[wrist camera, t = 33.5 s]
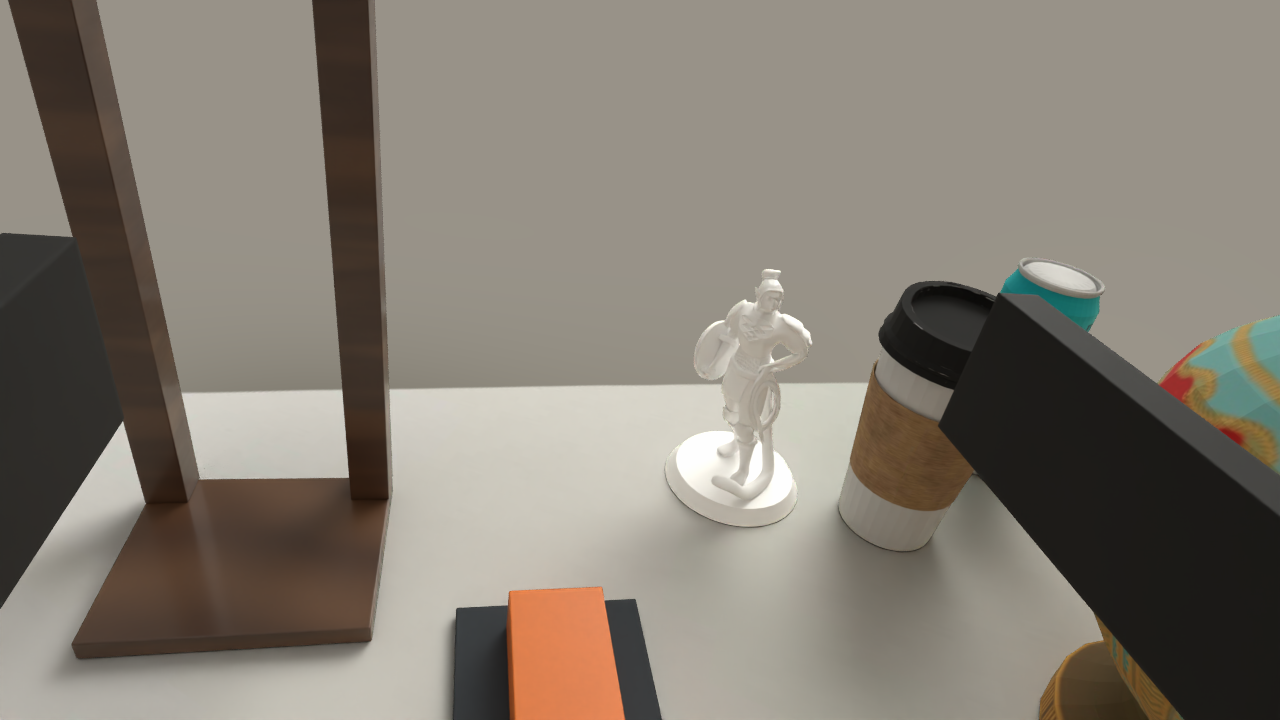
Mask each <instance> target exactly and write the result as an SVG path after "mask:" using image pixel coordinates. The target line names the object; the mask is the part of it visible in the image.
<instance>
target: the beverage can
mask: <svg viewBox="0 0 1280 720" xmlns="http://www.w3.org/2000/svg"><path fill="white" fill-rule="evenodd" d="M1104 291H1105V286H1104V284H1103V283H1102V282H1101V281H1100V280H1099V279H1097V278H1096V277H1095V276H1093V275H1091V274H1089V273H1088V272H1085V271H1083V270H1081V269H1079V268H1077V267H1074V266H1071V265H1068V264H1065V263H1062V262H1058V261H1054V260H1050V259H1044V258H1024V259H1022V260H1021V261H1020V262H1019V264H1018V269H1017V270H1016V271H1015V272H1014V273H1013V274H1012V275H1011V276H1010V277H1008V278H1007V279H1006V281H1005V283H1004V285H1003V288H1002V290H1001V292H1000V293H1012V294H1029V295H1039V296H1040V297H1041V298H1043V299H1044V300H1045V301H1047V302H1048V303H1049V304H1051V305H1052V306H1053V307H1055V308H1056V309H1057V310H1059V311H1060V312H1061V313H1063V314H1064V315H1065V316H1067V317H1068V318H1069V319H1071V320H1072V321H1073V322H1075V323H1076V324H1077V325H1079V326H1080V327H1082V328H1083V329H1084V330H1086V331H1087V332H1089V330H1090V328H1091V326H1092V325H1093V323H1094V321H1095V319H1096V317H1097V315H1098V313H1099V299H1100V295H1102V294H1103V292H1104ZM973 473H974V474H977V473H976V471H975V470H974V471H973ZM977 475H978V474H977Z"/></svg>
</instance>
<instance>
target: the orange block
mask: <svg viewBox="0 0 1280 720" xmlns="http://www.w3.org/2000/svg"><path fill="white" fill-rule="evenodd" d="M506 628H507V656H508V683H509V710H510V720H625V716H624V710H623V704H622V698H621V693H620V687H619V681H618V675H617V670H616V664H615V658H614V653H613V647H612V641H611V635H610V630H609V624H608V618H607V612H606V607H605V601H604V595H603V589H602V587H586V588H564V589H542V590H520V591H510V592H509V599H508V612H507V625H506Z"/></svg>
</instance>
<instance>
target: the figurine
mask: <svg viewBox="0 0 1280 720" xmlns="http://www.w3.org/2000/svg"><path fill="white" fill-rule="evenodd" d="M780 273H781V272H780V271H775V270H772V269H765V270H763V271H762V273H761V276H762V279H763V282H762V283H761V285H760V287H759V288H758V289H757V287H755V293H756V297H757V301H756V303H750V302H746V300H743V301H741V302H739V303H738V304H736V305H735V306H734V307H733V308H732V309H731V310H730V311H729V313H728V315H727V318H726V320H725V321H718V322H715V323H713V324H712V325H710V326H709V327H708V328H707V329H706V330H705V331H704V332H703V334H702V335H701V337H700V339H699V341H698V343H697V345H696V348H695V352H694V366H695V370H696V372H697V374H698V375H699V376H700V377H702V378H704V379H707V380H715V379H717V378H719V377H721V376H723V375H724V374H725V375H724V378H723V382H722V387H721V392H722V394H723V396H724V399H725V402H726V405H724V407H723V418H724V420H725V421H727V423H728V425H729V426H730V427H731V428H732V430H733V432H725V431H712V432H705V433H700V434H697V435H695V436H692V437H690V438H689V439H687V440H686V441H685V442H683V443H682V444H680V445H679V446H678V447H676V448H675V449H674V450H673V451H672V452H671V453H670V455H669V456H668V459H667V461H666V466H665V474H666V478H667V481H668V483H669V486H670V488H671V489H672V491H673V492H674V493H675V495H676V496H677V497H678V498H679V499H680V500H681V501H682V502H683V503H684V504H686V505H687V506H688V507H689V508H691V509H692V510H694V511H696V512H697V513H699V514H701V515H703V516H705V517H707V518H709V519H711V520H714V521H717V522H721V523H724V524H728V525H734V526H741V527H756V526H764V525H768V524H771V523H775V522H777V521H779V520H781V519H783V518H784V517H786V516H787V515H788V514H789V513H790V512H791V511H792V510H793V508H794V506H795V504H796V502H797V495H798V492H797V486H796V483H795V481H794V478H793V476H792V474H791V471H790V469H789V467H788V465H787V464H786V462H785V461H784V459H783V458H782V457H781V456H780V455H779V454H778V453H777V452H776V451H774V449H773V433H772V424H773V422H774V421H775V419H776V418H777V416H778V413H779V410H780V401H781V395H780V388H779V385H778V382H777V380H776V378H775V377H774V372H779V371H782V370H785V369H788V368H790V367H791V366H794V365H797V364H799V363H801V362H802V361H803V360H805V358H806V357H807V355H808V353H809V352H808V347H811V346H812V340H811V339H810V333H809V331H807V330H806V329H805V328H803V324H802V323H801V322H800V321H798V320H797V319H795V318H793V317H791V316H789V315H787V314H783V315H781V314H780V313H779V312H780V307H781V305H782V304H783V300H784V295H783V293H784V290H782V287H781V285H780V284H779V282H778V281H777V278H778V277H779V276H780ZM780 300H781V302H780ZM779 302H780V305H779V306H778V304H779ZM777 307H778V311H777ZM739 343H740V345H739ZM780 343H782V344H783V345H784V346H785V347H786V348H787V349H788V350H789V351H790V352H791V353H792V354H793V355H790V356H787V357H784V358H782V359H779V360H777V361H774V360H773V359H772V358H771V352H772V350H773V348H774V346H775V345H776V344H780ZM772 392H773V394H774V407H773V409H772V404H771V401H772ZM760 416H761V420H760ZM754 430H755V431H757V432H759V436H760V440H761V442H760V441H758V439H757V437H756V436H755V435H754V434H753V432H754Z"/></svg>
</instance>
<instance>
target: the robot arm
mask: <svg viewBox="0 0 1280 720" xmlns="http://www.w3.org/2000/svg"><path fill="white" fill-rule="evenodd" d="M123 420H124V415H123V411H122V407H121V403H120V400H119V396H118V392H117V388H116V385H115V381H114V377H113V373H112V370H111V366H110V362H109V358H108V355H107V351H106V347H105V343H104V340H103V336H102V332H101V328H100V325H99V321H98V317H97V313H96V310H95V306H94V302H93V298H92V295H91V291H90V287H89V283H88V280H87V276H86V272H85V268H84V265H83V261H82V257H81V253H80V250H79V246H78V242H77V238H76V237H61V236H44V235H27V234H11V233H2V234H0V609H1V607H2V606H3V604H4V603H5V601H6V599H7V598H8V596H9V595H10V593H11V592H12V590H13V589H14V587H15V586H16V584H17V583H18V581H19V580H20V578H21V576H22V575H23V573H24V572H25V570H26V569H27V567H28V566H29V564H30V563H31V561H32V560H33V558H34V556H35V555H36V553H37V552H38V550H39V549H40V547H41V546H42V544H43V543H44V541H45V540H46V538H47V537H48V535H49V533H50V532H51V530H52V529H53V527H54V526H55V524H56V523H57V521H58V520H59V518H60V517H61V515H62V513H63V512H64V510H65V509H66V507H67V506H68V504H69V503H70V501H71V500H72V498H73V497H74V495H75V494H76V492H77V490H78V489H79V487H80V486H81V484H82V483H83V481H84V480H85V478H86V477H87V475H88V474H89V472H90V470H91V469H92V467H93V466H94V464H95V463H96V461H97V460H98V458H99V457H100V455H101V454H102V452H103V451H104V449H105V447H106V446H107V444H108V443H109V441H110V440H111V438H112V437H113V435H114V434H115V432H116V431H117V429H118V427H119V426H120V424H121V423H122V421H123ZM938 427H939V428H940V430H941V431H942V432H943V433H944V434H945V436H946V437H947V438H948V439H949V440H950V442H951V443H952V444H953V445H954V446H955V448H956V449H957V450H958V451H959V452H960V453H961V455H962V456H963V457H964V458H965V459H966V461H967V462H968V463H969V464H970V465H971V467H972V468H973V469H974V470H975V471H976V473H977V474H978V475H979V476H980V477H981V478H982V480H983V481H984V482H985V483H986V484H987V486H988V487H989V488H990V489H991V490H992V492H993V493H994V494H995V495H996V496H997V498H998V499H999V500H1000V501H1001V502H1002V503H1003V505H1004V506H1005V507H1006V508H1007V509H1008V511H1009V512H1010V513H1011V514H1012V515H1013V517H1014V518H1015V519H1016V520H1017V521H1018V523H1019V524H1020V525H1021V526H1022V527H1023V529H1024V530H1025V531H1026V532H1027V533H1028V534H1029V536H1030V537H1031V538H1032V539H1033V540H1034V542H1035V543H1036V544H1037V545H1038V546H1039V548H1040V549H1041V550H1042V551H1043V552H1044V554H1045V555H1046V556H1047V557H1048V558H1049V559H1050V561H1051V562H1052V563H1053V564H1054V565H1055V567H1056V568H1057V569H1058V570H1059V571H1060V573H1061V574H1062V575H1063V576H1064V577H1065V579H1066V580H1067V581H1068V582H1069V583H1070V584H1071V586H1072V587H1073V588H1074V589H1075V590H1076V592H1077V593H1078V594H1079V595H1080V596H1081V598H1082V599H1083V600H1084V601H1085V602H1086V604H1087V605H1088V606H1089V607H1090V608H1091V610H1092V611H1093V612H1094V613H1095V614H1096V615H1097V617H1098V618H1099V619H1100V620H1101V621H1102V623H1103V624H1104V625H1105V626H1106V627H1107V629H1108V630H1109V631H1110V632H1111V633H1112V635H1113V636H1114V637H1115V638H1116V639H1117V640H1118V642H1119V643H1120V644H1121V645H1122V646H1123V648H1124V649H1125V650H1126V651H1127V652H1128V654H1129V655H1130V656H1131V657H1132V658H1133V660H1134V661H1135V662H1136V663H1137V664H1138V666H1139V667H1140V668H1141V669H1142V670H1143V671H1144V673H1145V674H1146V675H1147V676H1148V677H1149V679H1150V680H1151V681H1152V682H1153V683H1154V685H1155V686H1156V687H1157V688H1158V689H1159V691H1160V692H1161V693H1162V694H1163V695H1164V696H1165V698H1166V699H1167V700H1168V701H1169V702H1170V704H1171V705H1172V706H1173V707H1174V708H1175V710H1176V711H1177V712H1178V713H1179V714H1180V716H1181V717H1182V718H1183V719H1184V720H1280V475H1279V474H1278V473H1276V472H1275V471H1274V470H1272V469H1271V468H1270V467H1268V466H1267V465H1266V464H1264V463H1263V462H1261V461H1260V460H1259V459H1257V458H1256V457H1255V456H1253V455H1252V454H1251V453H1249V452H1248V451H1247V450H1245V449H1244V448H1243V447H1241V446H1240V445H1239V444H1237V443H1236V442H1235V441H1233V440H1232V439H1231V438H1229V437H1228V436H1227V435H1225V434H1224V433H1223V432H1221V431H1220V430H1219V429H1217V428H1216V427H1214V426H1213V425H1212V424H1210V423H1209V422H1208V421H1206V420H1205V419H1204V418H1202V417H1201V416H1200V415H1198V414H1197V413H1196V412H1194V411H1193V410H1192V409H1190V408H1189V407H1188V406H1186V405H1185V404H1184V403H1182V402H1181V401H1180V400H1178V399H1177V398H1176V397H1174V396H1173V395H1171V394H1170V393H1169V392H1167V391H1166V390H1165V389H1163V388H1162V387H1161V386H1159V385H1158V384H1157V383H1155V382H1154V381H1152V380H1151V379H1150V378H1149V377H1147V376H1146V375H1145V374H1143V373H1142V372H1141V371H1139V370H1138V369H1137V368H1135V367H1134V366H1133V365H1131V364H1130V363H1128V362H1127V361H1126V360H1124V359H1123V358H1122V357H1120V356H1119V355H1118V354H1116V353H1115V352H1114V351H1112V350H1111V349H1110V348H1108V347H1107V346H1106V345H1104V344H1103V343H1102V342H1100V341H1099V340H1098V339H1096V338H1095V337H1094V336H1092V335H1091V334H1089V333H1088V332H1087V331H1086V330H1084V329H1083V328H1082V327H1080V326H1079V325H1077V324H1076V323H1075V322H1073V321H1072V320H1071V319H1069V318H1068V317H1067V316H1065V315H1064V314H1063V313H1061V312H1060V311H1059V310H1057V309H1056V308H1055V307H1053V306H1052V305H1051V304H1049V303H1048V302H1047V301H1045V300H1044V299H1043V298H1041V297H1040V296H1039V295H1029V294H1012V293H998V295H997V297H996V299H995V301H994V304H993V306H992V308H991V310H990V312H989V315H988V317H987V319H986V321H985V323H984V326H983V328H982V330H981V332H980V334H979V337H978V339H977V341H976V343H975V345H974V348H973V350H972V352H971V354H970V356H969V358H968V361H967V363H966V365H965V367H964V369H963V372H962V374H961V376H960V378H959V380H958V383H957V385H956V387H955V389H954V391H953V394H952V396H951V398H950V400H949V402H948V405H947V407H946V409H945V411H944V413H943V415H942V418H941V420H940V422H939V424H938Z"/></svg>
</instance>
